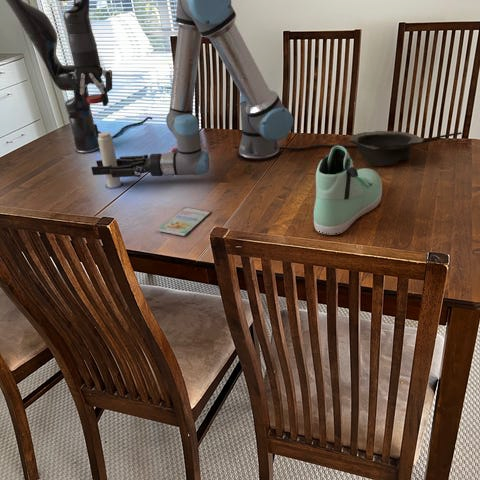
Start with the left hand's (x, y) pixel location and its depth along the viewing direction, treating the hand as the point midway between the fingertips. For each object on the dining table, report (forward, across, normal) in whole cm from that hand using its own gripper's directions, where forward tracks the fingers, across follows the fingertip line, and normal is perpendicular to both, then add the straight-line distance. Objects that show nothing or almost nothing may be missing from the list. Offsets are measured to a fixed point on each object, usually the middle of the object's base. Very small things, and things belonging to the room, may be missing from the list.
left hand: (96, 105), depth 151 cm
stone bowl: (+28, +92, +20) cm, 98 cm away
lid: (-2, 0, 0) cm, 2 cm away
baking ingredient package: (+28, +30, -26) cm, 49 cm away
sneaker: (+28, +78, -18) cm, 84 cm away
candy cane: (+28, +14, +24) cm, 40 cm away
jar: (+28, 0, 0) cm, 28 cm away
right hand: (+21, -5, 0) cm, 22 cm away
